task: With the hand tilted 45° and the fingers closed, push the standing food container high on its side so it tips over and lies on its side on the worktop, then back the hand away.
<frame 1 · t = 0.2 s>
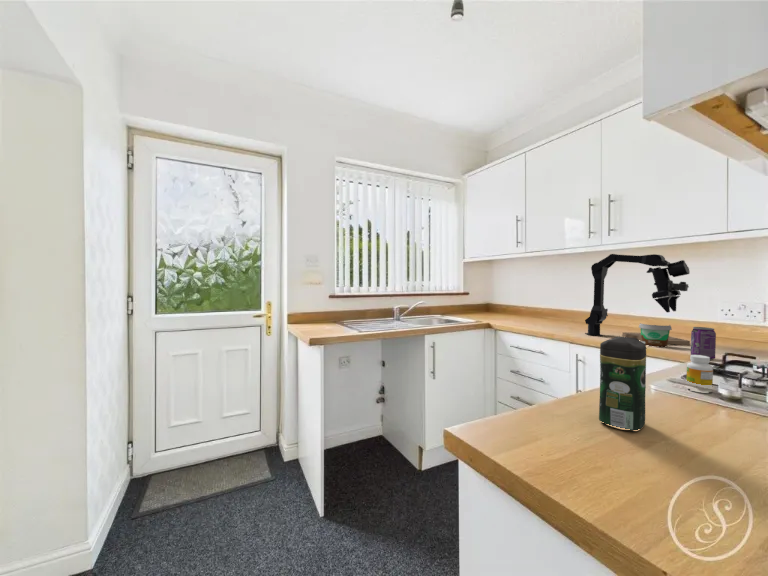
hand: (671, 311, 162), 16 cm above the worktop, tool pointing down, fingers open, 9 cm apart
walnut chopping board: (653, 340, 174), on the worktop
coffee jar: (621, 424, 74), on the worktop
food container: (655, 346, 159), on the worktop
beverage can: (702, 358, 135), on the worktop
supplement bottle: (698, 391, 96), on the worktop
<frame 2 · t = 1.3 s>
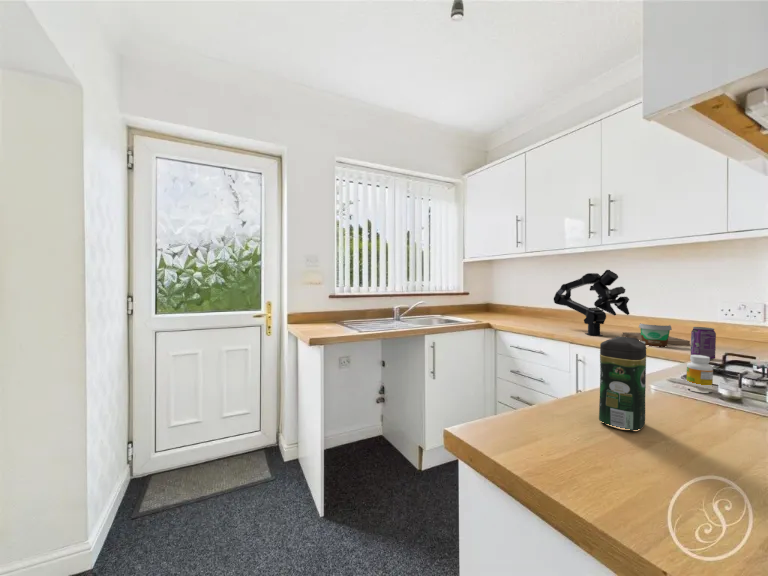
hand: (622, 314, 174), 13 cm above the worktop, tool tilted 45°, fingers open, 9 cm apart
nothing on the worktop moved.
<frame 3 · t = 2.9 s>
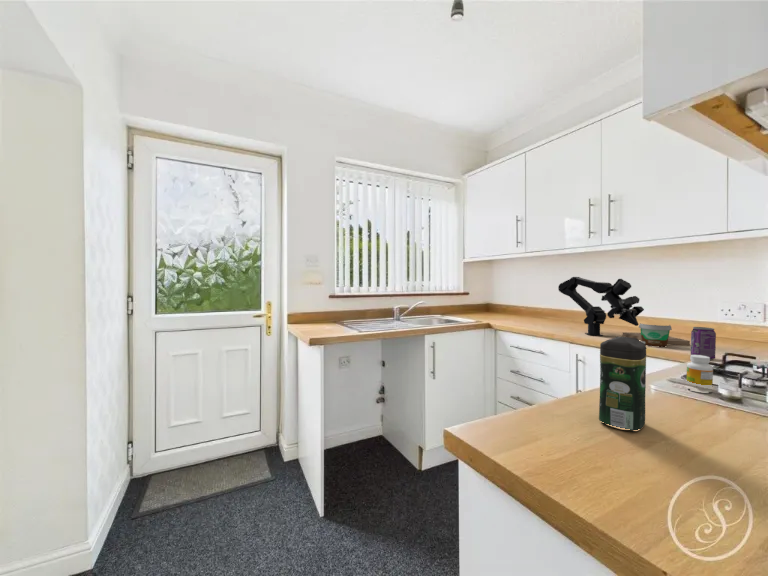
hand: (637, 325, 167), 9 cm above the worktop, tool tilted 45°, fingers closed
nothing on the worktop moved.
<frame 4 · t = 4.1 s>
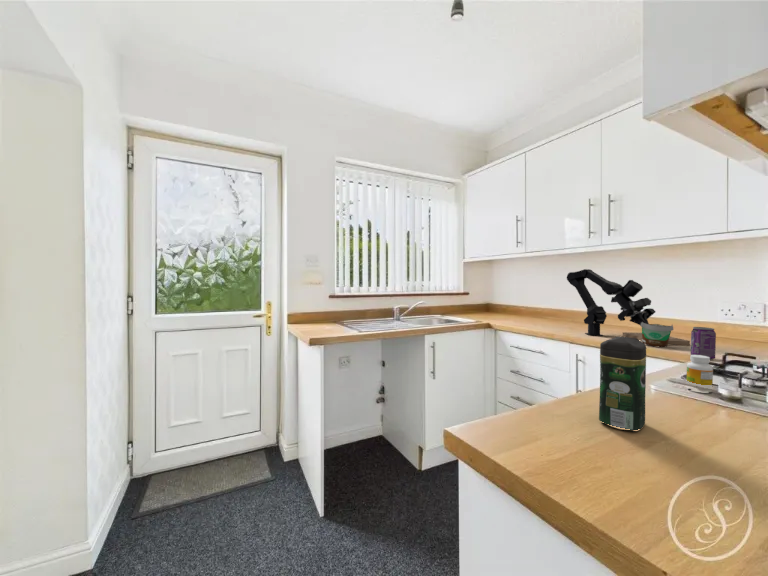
hand: (649, 328, 162), 8 cm above the worktop, tool tilted 45°, fingers closed
food container: (655, 345, 159), on the worktop, touching gripper
everything else where it was.
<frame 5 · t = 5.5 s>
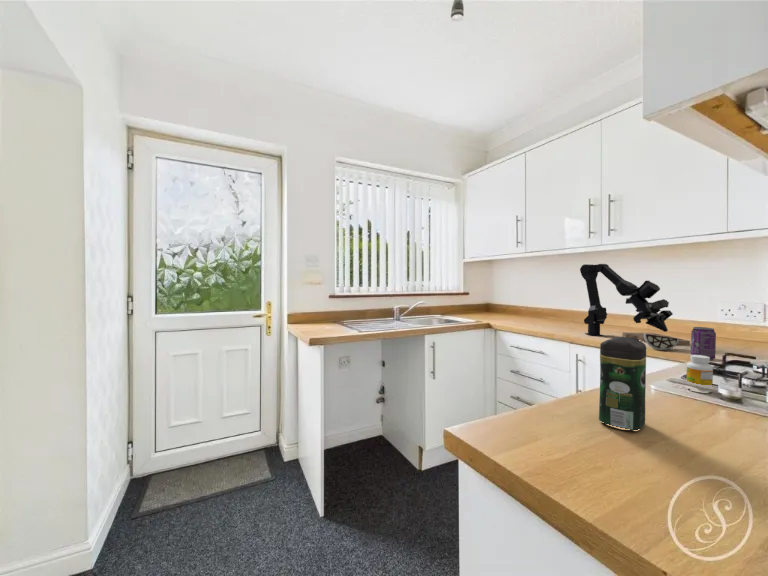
hand: (666, 331, 154), 8 cm above the worktop, tool tilted 45°, fingers closed
food container: (657, 342, 157), point 2 cm above the worktop
everything else where it was.
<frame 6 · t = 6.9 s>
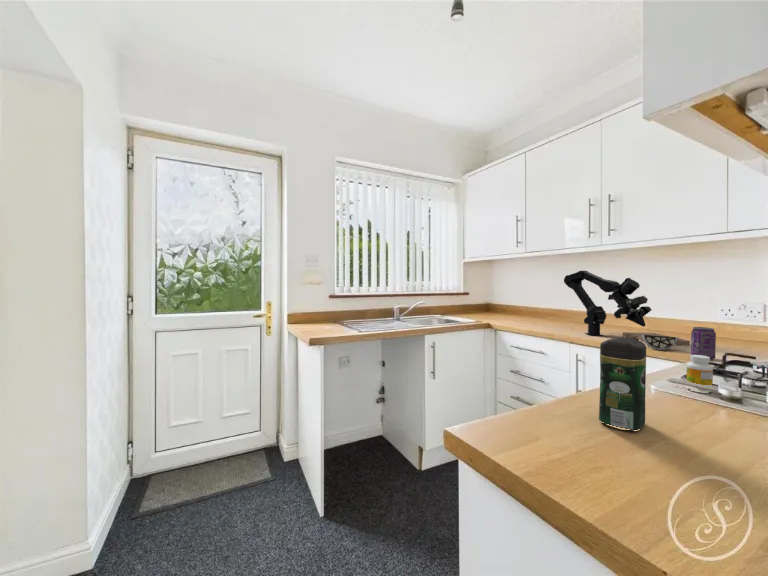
hand: (644, 326, 163), 9 cm above the worktop, tool tilted 45°, fingers closed
nothing on the worktop moved.
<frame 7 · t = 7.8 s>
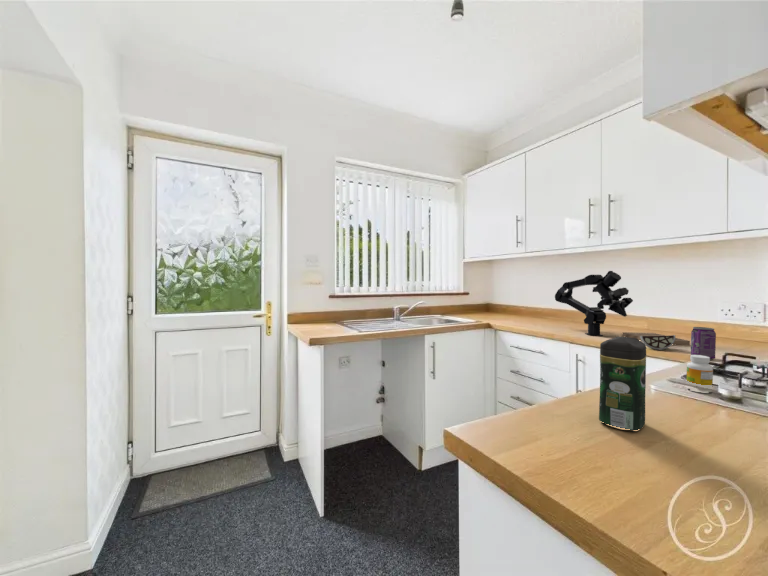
hand: (625, 316, 172), 12 cm above the worktop, tool tilted 45°, fingers closed
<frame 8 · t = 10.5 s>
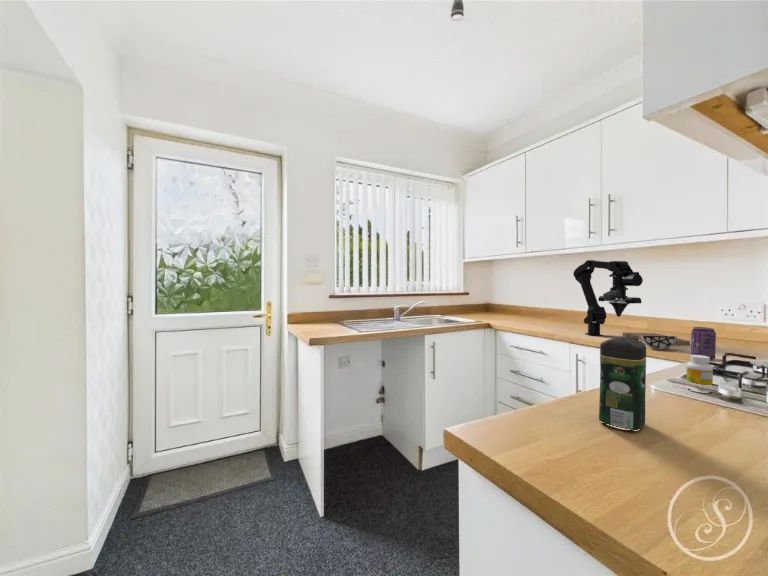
hand: (618, 316, 174), 12 cm above the worktop, tool pointing down, fingers closed
nothing on the worktop moved.
at the end: food container tilted 81°; food container inside the target area (5.4 cm from its centre), point 1.8 cm above the worktop; the gripper is holding nothing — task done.
